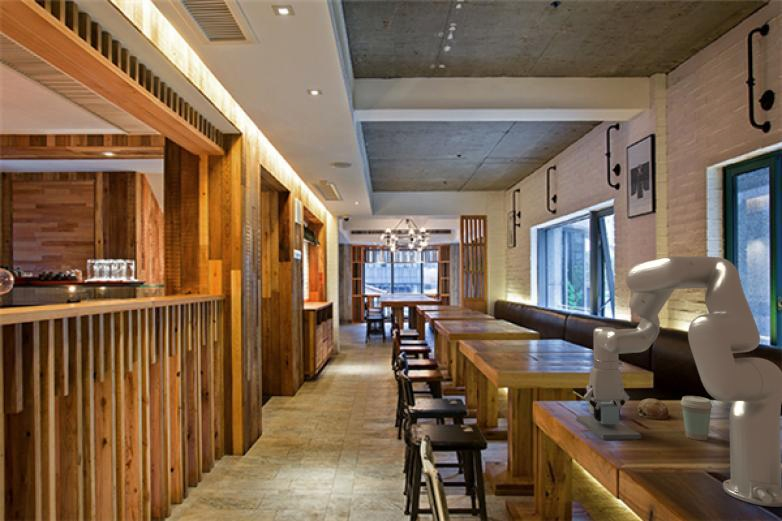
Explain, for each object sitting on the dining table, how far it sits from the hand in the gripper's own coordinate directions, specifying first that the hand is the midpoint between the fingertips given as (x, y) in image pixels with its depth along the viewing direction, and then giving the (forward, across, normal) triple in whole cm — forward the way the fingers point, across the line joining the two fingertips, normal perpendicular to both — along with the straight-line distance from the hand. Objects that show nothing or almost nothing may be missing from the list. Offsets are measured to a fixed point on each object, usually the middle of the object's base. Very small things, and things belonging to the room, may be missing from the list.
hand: (606, 419), depth 163 cm
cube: (+1, 0, 0) cm, 1 cm away
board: (+3, 0, 0) cm, 3 cm away
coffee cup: (+3, -24, +9) cm, 26 cm away
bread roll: (+4, -24, -15) cm, 29 cm away
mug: (+3, -6, -17) cm, 18 cm away
